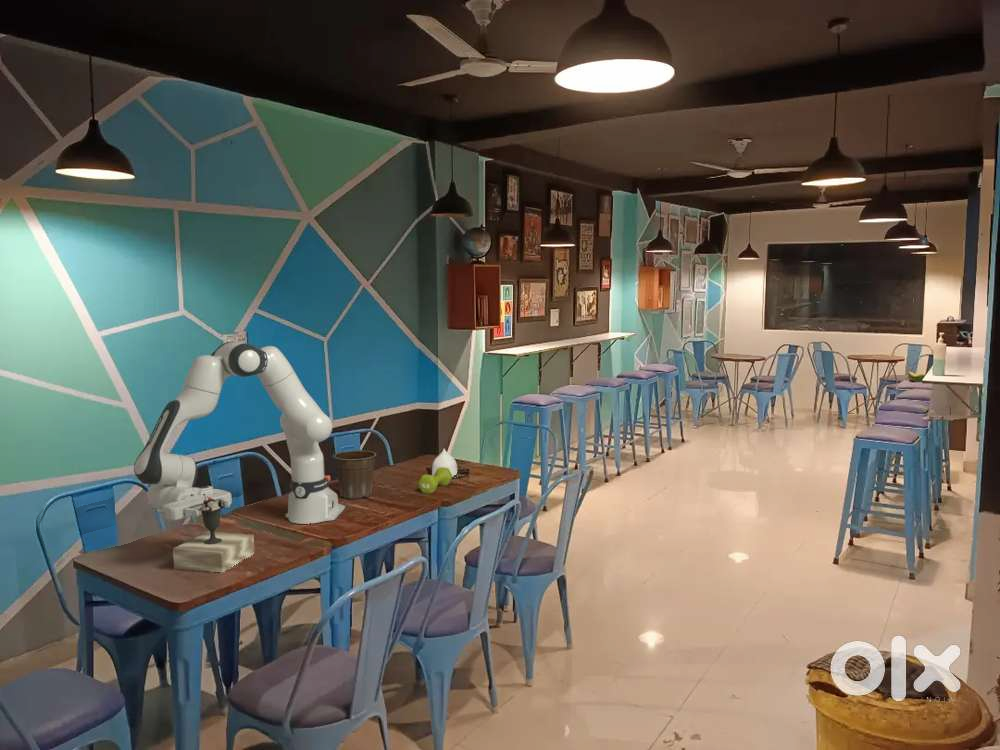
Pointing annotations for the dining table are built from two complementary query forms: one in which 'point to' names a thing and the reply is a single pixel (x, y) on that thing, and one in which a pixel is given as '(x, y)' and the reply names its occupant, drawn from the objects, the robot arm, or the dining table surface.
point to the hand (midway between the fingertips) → (213, 509)
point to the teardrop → (445, 463)
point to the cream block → (213, 552)
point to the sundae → (211, 518)
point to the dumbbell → (435, 480)
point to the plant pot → (355, 473)
